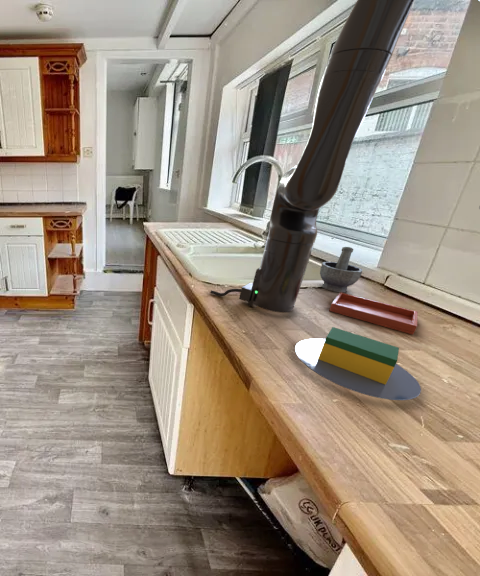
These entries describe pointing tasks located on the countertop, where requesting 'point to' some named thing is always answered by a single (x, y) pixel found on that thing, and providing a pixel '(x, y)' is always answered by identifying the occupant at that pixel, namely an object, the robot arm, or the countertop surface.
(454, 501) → the countertop surface
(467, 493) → the countertop surface
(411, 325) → the sponge dish
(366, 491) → the countertop surface
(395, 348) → the sponge
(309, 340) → the mirror
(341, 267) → the mortar and pestle
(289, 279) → the robot arm
